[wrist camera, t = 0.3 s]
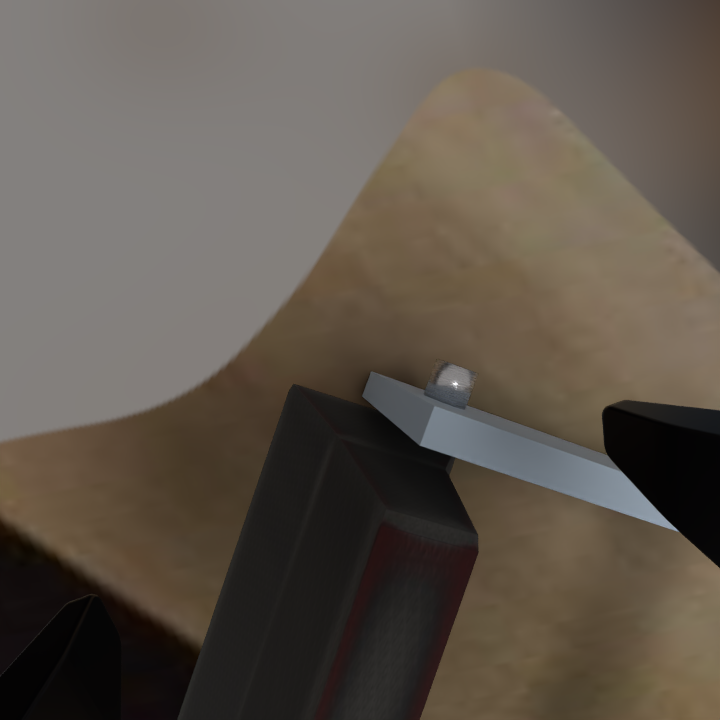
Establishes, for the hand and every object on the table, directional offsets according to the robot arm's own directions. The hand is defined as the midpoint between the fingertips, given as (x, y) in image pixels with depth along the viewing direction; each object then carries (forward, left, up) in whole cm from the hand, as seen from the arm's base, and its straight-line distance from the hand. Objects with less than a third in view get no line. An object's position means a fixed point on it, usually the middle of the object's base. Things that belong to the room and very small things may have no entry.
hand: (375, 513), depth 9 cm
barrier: (-12, -4, -16) cm, 20 cm away
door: (+2, -11, -15) cm, 18 cm away
